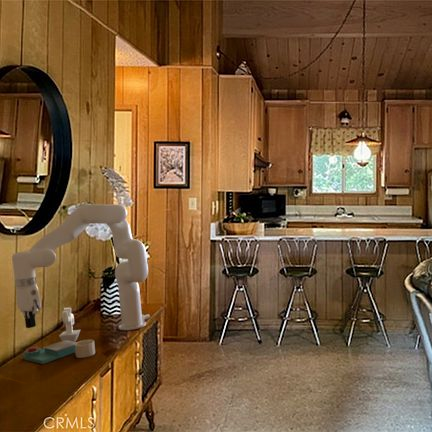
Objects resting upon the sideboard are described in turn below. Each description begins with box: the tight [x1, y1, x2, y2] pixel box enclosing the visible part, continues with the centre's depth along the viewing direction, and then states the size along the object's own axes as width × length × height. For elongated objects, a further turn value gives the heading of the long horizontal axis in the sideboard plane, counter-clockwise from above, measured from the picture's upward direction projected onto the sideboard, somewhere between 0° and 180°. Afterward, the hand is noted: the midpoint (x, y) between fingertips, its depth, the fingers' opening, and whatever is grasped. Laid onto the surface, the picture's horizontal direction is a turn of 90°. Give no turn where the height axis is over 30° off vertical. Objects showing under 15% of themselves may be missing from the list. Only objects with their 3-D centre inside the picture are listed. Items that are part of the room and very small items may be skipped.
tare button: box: [27, 345, 38, 352], centre depth 198 cm, size 3×3×2 cm
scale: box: [22, 347, 59, 365], centre depth 200 cm, size 16×14×3 cm
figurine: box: [58, 307, 81, 342], centre depth 218 cm, size 7×9×15 cm
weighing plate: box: [42, 340, 78, 359], centre depth 201 cm, size 10×10×4 cm
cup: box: [74, 339, 96, 359], centre depth 198 cm, size 7×7×5 cm
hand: (30, 327), depth 198 cm, fingers closed
